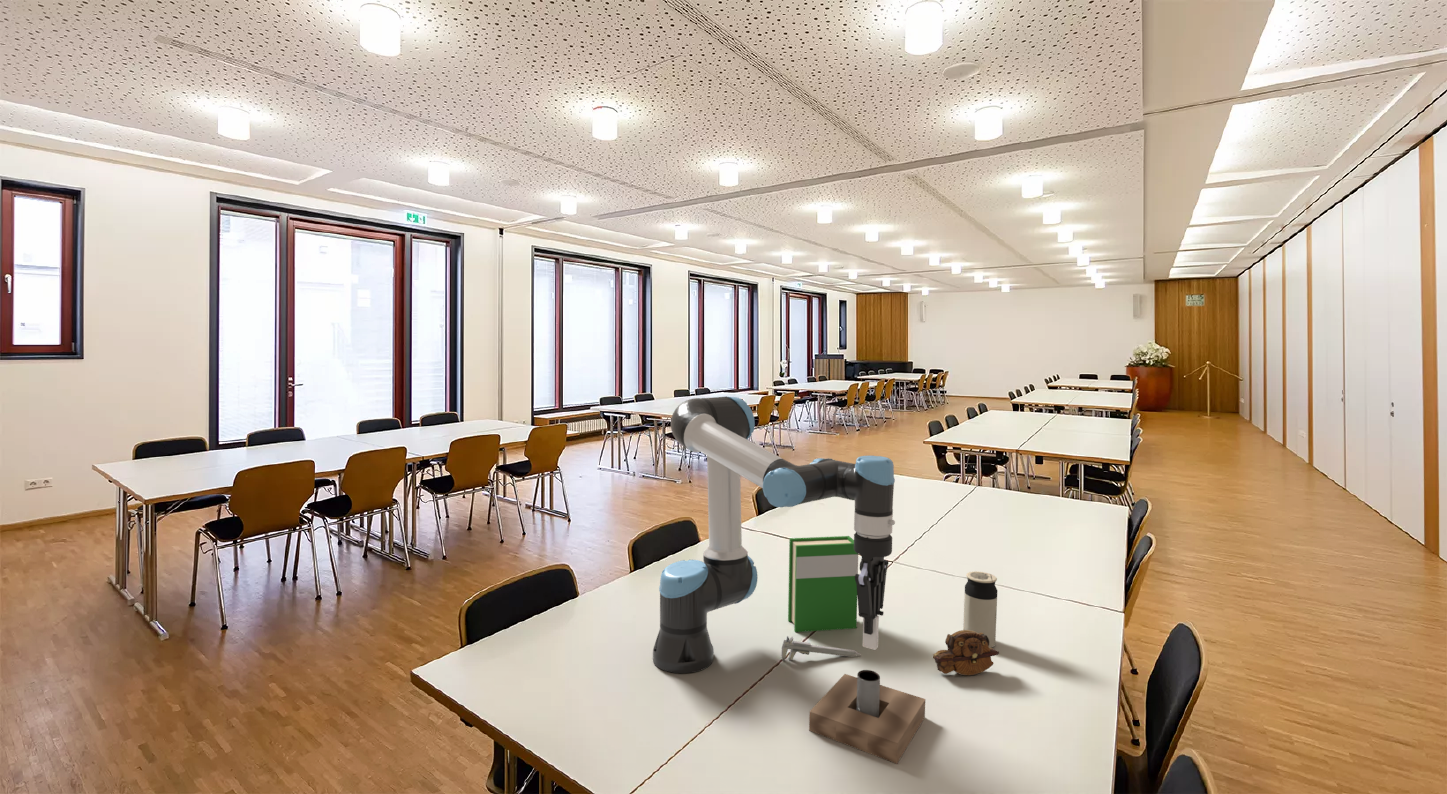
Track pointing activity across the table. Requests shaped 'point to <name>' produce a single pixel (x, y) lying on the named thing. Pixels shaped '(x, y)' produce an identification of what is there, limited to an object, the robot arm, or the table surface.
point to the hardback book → (822, 583)
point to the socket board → (868, 719)
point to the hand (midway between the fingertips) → (870, 646)
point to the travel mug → (981, 604)
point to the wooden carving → (965, 653)
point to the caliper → (812, 649)
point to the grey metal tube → (868, 692)
